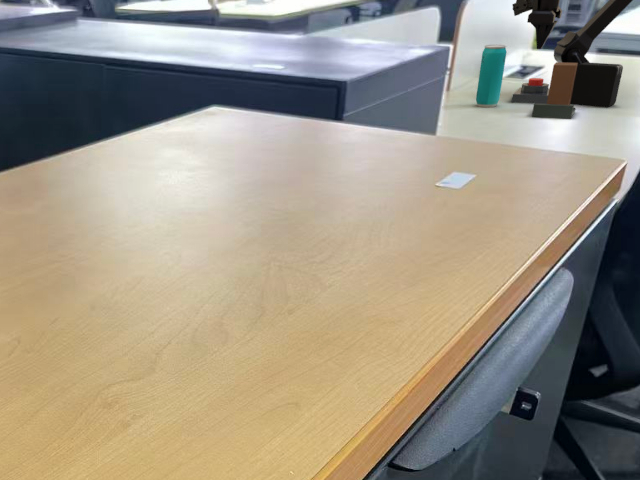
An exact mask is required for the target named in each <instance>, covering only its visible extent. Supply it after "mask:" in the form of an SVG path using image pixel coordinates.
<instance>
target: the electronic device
mask: <svg viewBox="0 0 640 480" xmlns="http://www.w3.org/2000/svg"><path fill="white" fill-rule="evenodd" d="M623 69H624V67H623V65H622V64H621V63H604V62H603V63H601V62H600V63H599V62H590V63H587V62H586V63H582V64H579V65H577V70H576V75H575V81H574V86H573V91H572V96H571V102H570V105H574V106H583V107H585V106H586V107H595V108H609V107H612V106H614V105H616V103H617V98H618V94H619V89H620V85H621V78H622V75H623Z"/></svg>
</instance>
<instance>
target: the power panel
mask: <svg viewBox="0 0 640 480" xmlns="http://www.w3.org/2000/svg"><path fill="white" fill-rule="evenodd" d="M549 88H550V84H549V83H545V82H543V85H540V86H533V85H528V82H523V83H521V86H520V87H519V88H518V89H517V90H516V91H514V92H513V93H512V97H511V103H515V104H516V103H519V104H535V103H536V104H547V100H548V94H549Z"/></svg>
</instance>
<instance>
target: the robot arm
mask: <svg viewBox="0 0 640 480" xmlns="http://www.w3.org/2000/svg"><path fill="white" fill-rule="evenodd" d="M633 1H634V0H608V1H607V2H606V3H605V4H604V5H603V6H602V7H600V9H599V10H598V11H597V12H596V13H595V14H594V15H593V16H592V17H591V18H590V19H589V20H588V21H587V22H586V23H585V25H583V27H581V28H580V29H579V30H576V32H574V31H570V30H569V31H567V32H566V33H565V34H564V36H563V37H562V39H560V40H558V41H556V47H555V48H554V50H553V58H554V60H555V62H565V63H578V65H579V64H582V63H586V62H587V63H591V62H590V61H589V60H588V59H587V57H586V55H587V54H588V52H589V51H590V49H591V46H592V44H593V42H594V41H595V39H596V38H597V37H598V36H599V35H600V34H601V33H603V31H604V30H605V29H607V27H608V26H609V25H610V24H611V23H612V22H613V21H614V20H615V19H616V18H617V17H618V16H620V14H621V13H623V12H624V10H625V9H626V8H627V7H628V6H629V5H630V4H631V3H632V2H633ZM560 2H561V0H516V1H515V3H512V5H511V6H512V11H513V15H514V17H516V16H520V15H521V14H523V13H526V12H529V11H531V12H530V13H529V14H528V16H527V21H526V22H527V23H529V24H531V25H532V26H533V28H535V41H536V42H535V43H536V44H535V45H536V49H537V50H541V49H542V48H543V47H544V45H545V43H546V42H547V40H548V38H549V37H550V35H551V34H552V32H553V30H554V28H555V26H556V24H557V23H558V20H556V19H561V18H562V14H563V13H562V12H563V9H562V8H561V7H560Z"/></svg>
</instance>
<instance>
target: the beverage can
mask: <svg viewBox="0 0 640 480" xmlns="http://www.w3.org/2000/svg"><path fill="white" fill-rule="evenodd" d="M506 48H507V45H505V44H486V45H484V49H483V51H482V54H481V61H480V67H479V68H480V69H479V74H478V81H477V88H476V89H477V90H476V96H475V101H476V102H475V103H476V106H477V107H478V108H495V107H496V106H497V105H498V103H499V101H500V98H501V91H502V83H503V78H504V70H505V64H506V58H507V49H506Z"/></svg>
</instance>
